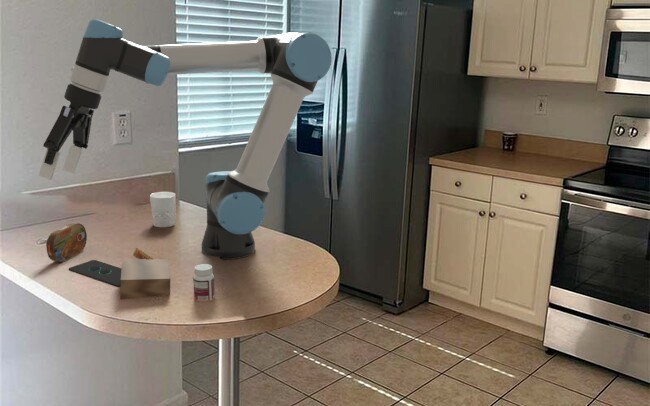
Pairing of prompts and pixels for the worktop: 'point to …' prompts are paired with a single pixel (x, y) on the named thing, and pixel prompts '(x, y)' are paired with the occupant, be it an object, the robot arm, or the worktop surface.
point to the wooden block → (145, 278)
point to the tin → (66, 242)
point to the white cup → (163, 208)
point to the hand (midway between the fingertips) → (57, 174)
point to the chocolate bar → (141, 254)
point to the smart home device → (99, 272)
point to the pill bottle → (203, 283)
